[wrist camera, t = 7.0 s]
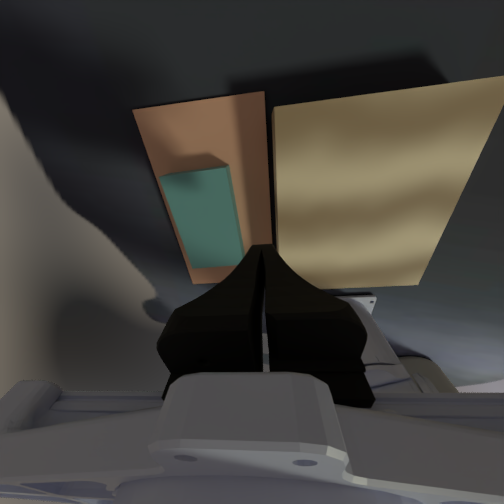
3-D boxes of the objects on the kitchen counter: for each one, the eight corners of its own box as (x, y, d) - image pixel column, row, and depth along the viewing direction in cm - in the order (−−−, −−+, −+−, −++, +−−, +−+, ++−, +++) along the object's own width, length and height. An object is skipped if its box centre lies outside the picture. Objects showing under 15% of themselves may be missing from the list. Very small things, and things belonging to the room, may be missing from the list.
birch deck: (393, 262, 22) (417, 284, 19) (277, 269, 23) (280, 290, 20) (455, 90, 14) (518, 73, 11) (271, 114, 15) (274, 106, 12)
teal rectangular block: (192, 268, 21) (197, 259, 23) (243, 264, 21) (245, 254, 22) (158, 176, 16) (168, 173, 18) (225, 167, 15) (229, 164, 17)
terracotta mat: (273, 278, 24) (274, 279, 24) (193, 282, 25) (193, 283, 25) (264, 91, 15) (264, 90, 14) (134, 110, 16) (132, 109, 15)
